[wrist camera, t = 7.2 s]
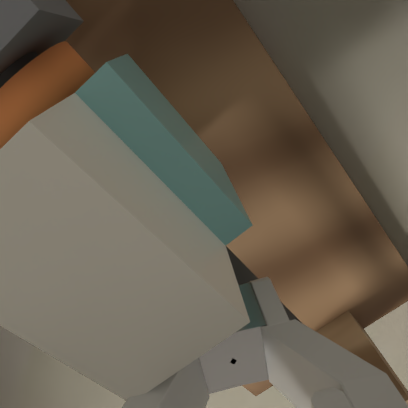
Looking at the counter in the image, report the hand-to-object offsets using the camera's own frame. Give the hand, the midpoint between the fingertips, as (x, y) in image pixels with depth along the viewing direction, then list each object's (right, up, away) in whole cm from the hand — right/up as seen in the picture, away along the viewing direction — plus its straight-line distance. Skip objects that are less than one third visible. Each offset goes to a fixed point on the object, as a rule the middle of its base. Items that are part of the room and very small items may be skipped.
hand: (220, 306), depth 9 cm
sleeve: (-3, +4, +2) cm, 6 cm away
